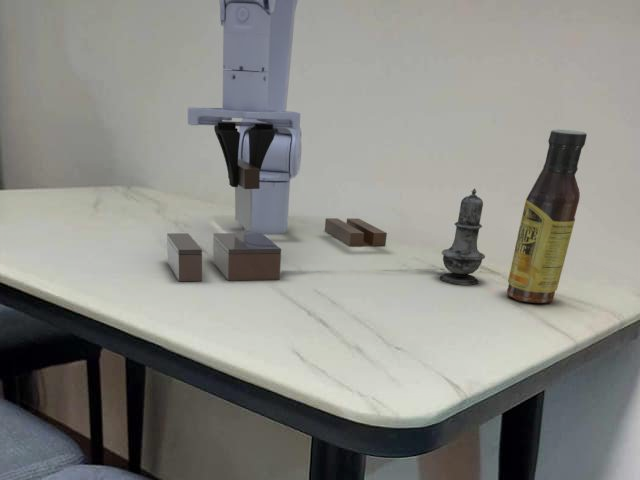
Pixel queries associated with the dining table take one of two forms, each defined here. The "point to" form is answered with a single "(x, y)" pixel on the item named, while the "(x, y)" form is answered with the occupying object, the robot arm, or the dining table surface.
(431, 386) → the dining table surface
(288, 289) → the dining table surface
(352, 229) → the knife stand
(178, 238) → the brown rectangular block
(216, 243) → the brown lidded box
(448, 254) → the salt shaker
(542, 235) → the sauce bottle
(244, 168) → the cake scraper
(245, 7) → the robot arm
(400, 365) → the dining table surface
